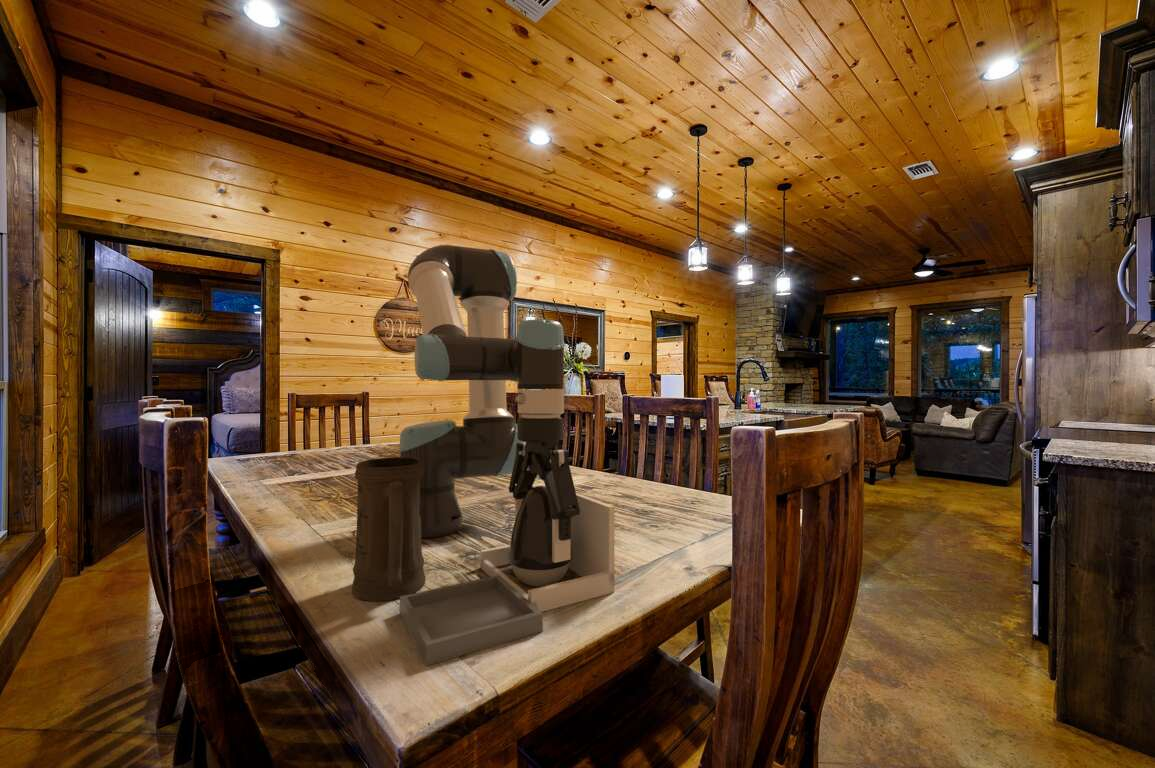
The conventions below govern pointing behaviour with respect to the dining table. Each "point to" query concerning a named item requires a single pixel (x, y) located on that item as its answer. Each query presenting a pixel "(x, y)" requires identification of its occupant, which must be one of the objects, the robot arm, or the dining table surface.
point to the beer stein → (388, 529)
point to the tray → (467, 618)
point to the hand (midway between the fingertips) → (540, 547)
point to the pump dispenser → (535, 541)
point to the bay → (588, 559)
